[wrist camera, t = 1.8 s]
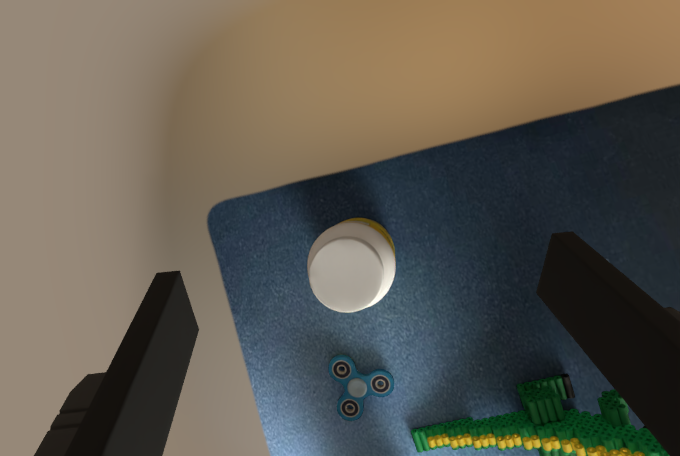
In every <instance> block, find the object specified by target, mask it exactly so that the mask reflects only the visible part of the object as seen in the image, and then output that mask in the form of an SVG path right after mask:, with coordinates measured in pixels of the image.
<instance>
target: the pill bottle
mask: <svg viewBox="0 0 680 456" xmlns="http://www.w3.org/2000/svg"><path fill="white" fill-rule="evenodd" d="M395 268H396V263H395V249H394V244H393V241H392V238H391V236H390V235H389V233H388V232H387V230H386V229H385V228H384V227H383V226H382V225H380V224H379V223H377V222H376V221H374V220H371V219H367V218H360V217H356V218H351V219H347V220H345V221H342V222H340V223H339V224H337V225H335V226H333V227H330V228H329V229H327V230H326V231H324V232H323V233H322V234H321V235H320V236H319V237H318V238H317V239H316V241H315V242H314V244H313V245H312V247H311V250H310V252H309V256H308V263H307V269H308V276H309V281H310V285H311V288H312V290H313V292H314V294H315V296H316V297H317V298H318V300H319V301H320V302H321V303H323V304H324V305H325V306H327V307H328V308H330V309H332V310H335V311H338V312H355V311H359V310H361V309H364V308H367V307H370V306H372V305H373V304H375V303H377V302H378V301H379V300H380V299H382V298H383V297H384V295H385V294H386V293H387V292H388V290H389V289H390V287H391V284H392V282H393V279H394V275H395Z"/></svg>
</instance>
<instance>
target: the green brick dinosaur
mask: <svg viewBox="0 0 680 456" xmlns="http://www.w3.org/2000/svg"><path fill="white" fill-rule="evenodd" d="M517 389H518V392H519V396H520V399H521V403H522V406H523V407H524V409H525V411H524V410H520V411H518V413H517V412H512V413H511V414H508V413H506V414H504V415H503V416H502V415H497V416H496V417H493V416H492V417H489V419H488V418H483V419H482V420H475V421H473V418H472V417H468V418H466V419H460V420H459V421H458V420H454V421H452V422H450V421H449V422H446V423H445V424H444V423H440V424H439V425H436V424H435V425H432V426H426V427H425V429H424V428H423V427H421V428H419V429H418V430H417V429H413V430H411V433H412V436H413V439H414V443H415V446H416V449H417V452H423V450H424V451H429V450H430V448H431V449H432V450H434V449H436V448H437V447H438V448H443V447H444V446H445V447H449V446H450V445H451V447H452V449H453V450H457V449H459V448H462V449H463V448H465V447H466V446H467V447H472V446H473V445H474V448H475V450H481V449H482V448H484V449H487V448H489V446H490V447H496V446H497V445H498V449H499V450H501V451H504V450H506V448H507V449H513V448H514V447H516V448H519V447H521V445H523V446H524V449H525V450H532V448H534V449H538V451H539V455H540V456H670V455H669V454H668V453H667V452H666V451H665V449H664V448H663V447H662V446H661V444H660V443H659V442H658V441H657V440H656V438H655V437H654V436H653V435H652V433H651V432H650V431H649V430H648V429H647V427H646V426H644V427H643V428H641V429H639V431H638V430H636V429H635V427H634V426H633V425H631V423H630V420H629V416H628V412H629V410H628V407H627V403H626V402H625V401H624V399H623V398H622V397H621V396H620V394H619V393H618V392H617V391H616V390H615V389H614V390H610V392H608V391H604V392H602V397H600V398H598V403H599V406H600V410H601V413H602V415H601V414H595V415H594V416H591V415H590V413H589V412H587V411H583V412H582V413H581V414H580V413H579V412H578V410H577V409H570V410H569V411H570V412H569V411H567V410H564V411H563V407H562V404H561V401H560V399H561V400H566V399H567V397H568V398H574V397H575V395H574V391H573V388H572V384H571V381H570V377H569V375H568V374H562V375H561V376H554V377H553V378H552V377H548V378H546V379H540V380H538V381H532V382H525V383H524V384H517ZM576 454H577V455H576Z"/></svg>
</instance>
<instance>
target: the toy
mask: <svg viewBox="0 0 680 456" xmlns="http://www.w3.org/2000/svg"><path fill="white" fill-rule="evenodd" d="M340 366H343V367H344V368H345V370H344V371H341V370H340V369H339V367H340ZM328 370H329V374H330V376H331V377H332V378H333V379H334V380H335V381H337V382H340V383H341V384H342V385H343V386H344V389H345V392H344V394H343V395H342V396H341V397H340V398H339V400H338V403H337V411H338V414H339V415H340V416H341V417H342V418H343V419H345V420H348V421H354V420H357V419H359V418H360V417H361V415H362V413H363V408H364V405H363V400H364V399H365V398H366V397H367V396H370V395H374V396H377V397H385V396H388V395H389V394H390V393H391V392H392V391H393V389H394V379H393V376H392V375H391V374H390V373H389V372H388V371H386V370H384V369H376V370H374V371H372V372H371V373H369V374H362V373H360V372H359V371H357V369H356V367H355V363H354V361H353V360H352V359H351V358H350V357H348V356H347V355H337V356H335V357H333V358H332V359H331V361H330V363H329V367H328ZM378 381H383V382H384V384H383V385H378V383H377V382H378ZM348 405H352V406H353V409H349V408H348V407H347V406H348Z"/></svg>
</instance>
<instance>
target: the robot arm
mask: <svg viewBox="0 0 680 456" xmlns="http://www.w3.org/2000/svg"><path fill="white" fill-rule="evenodd" d="M536 293H537V295H538V296H539V297H540V298H541V299H542V301H543V302H544V303H545V304H546V306H547V307H548V308H549V309H550V310H551V312H552V313H553V314H554V315H555V317H556V318H557V319H558V320H559V321H560V323H561V324H562V325H563V326H564V327H565V329H566V330H567V331H568V332H569V334H570V335H571V336H572V337H573V338H574V340H575V341H576V342H577V343H578V345H579V346H580V347H581V348H582V349H583V351H584V352H585V353H586V354H587V355H588V357H589V358H590V359H591V360H592V362H593V363H594V364H595V365H596V366H597V368H598V369H599V370H600V371H601V373H602V374H603V375H604V376H605V377H606V379H607V380H608V381H609V382H610V384H611V385H612V386H613V387H614V388H615V390H616V391H617V392H618V393H619V394H620V396H621V397H622V398H623V399H624V401H625V402H626V403H627V404H628V405H629V407H630V408H631V409H632V410H633V412H634V413H635V414H636V415H637V416H638V418H639V419H640V420H641V421H642V423H643V424H644V425H645V426H646V427H647V429H648V430H649V431H650V432H651V433H652V435H653V436H654V437H655V438H656V440H657V441H658V442H659V443H660V444H661V446H662V447H663V448H664V449H665V451H666V452H667V453H668V454H669V455H670V456H680V312H679V311H677V310H675V309H673V308H671V307H668V308H663V307H662V306H661V305H660V304H658V303H657V302H656V301H655V300H654V299H652V298H651V297H650V296H649V295H648V294H646V293H645V292H644V291H643V290H642V289H640V288H639V287H638V286H637V285H636V284H635V283H633V282H632V281H631V280H630V279H629V278H627V277H626V276H625V275H624V274H623V273H621V272H620V271H619V270H618V269H617V268H615V267H614V266H613V265H612V264H611V263H609V262H608V261H607V260H606V259H605V258H603V257H602V256H601V255H600V254H599V253H598V252H596V251H595V250H594V249H593V248H592V247H590V246H589V245H588V244H587V243H586V242H584V241H583V240H582V239H581V238H580V237H578V236H577V235H576V234H575V233H574V232H563V233H553V234H552V236H551V239H550V243H549V247H548V251H547V254H546V258H545V262H544V266H543V269H542V273H541V277H540V280H539V284H538V288H537V292H536ZM198 331H199V329H198V325H197V322H196V319H195V316H194V313H193V310H192V307H191V304H190V301H189V298H188V295H187V292H186V289H185V286H184V283H183V279H182V276H181V273H180V271H172V272H162V273H156V275H155V277H154V279H153V281H152V283H151V285H150V287H149V289H148V291H147V293H146V295H145V297H144V299H143V301H142V303H141V305H140V307H139V309H138V311H137V313H136V315H135V317H134V319H133V321H132V322H131V324H130V326H129V329H128V330H127V332H126V334H125V336H124V338H123V340H122V342H121V344H120V346H119V348H118V350H117V352H116V354H115V356H114V358H113V360H112V362H111V364H110V366H109V368H108V370H107V372H105V373H96V374H88V375H87V376H86V377H85V378H84V379H83V380H82V381H81V382H80V383H79V384H78V385H77V386H76V387H75V388H74V389H73V390H72V391H71V392H70V393H69V395H68V397H67V399H66V400H65V402H64V404H63V406H62V408H61V409H60V414H59V415H57V416H56V418H55V420H54V421H53V423H52V425H51V429H50V431H48V432H47V434H46V435H45V437H44V439H43V441H42V442H41V444H40V446H39V448H38V450H37V451H36V453H35V455H34V456H162V455H163V451H164V448H165V444H166V441H167V437H168V434H169V431H170V427H171V424H172V421H173V417H174V413H175V410H176V407H177V403H178V400H179V396H180V393H181V390H182V386H183V383H184V379H185V376H186V372H187V369H188V366H189V362H190V358H191V355H192V351H193V348H194V345H195V341H196V338H197V334H198Z"/></svg>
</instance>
